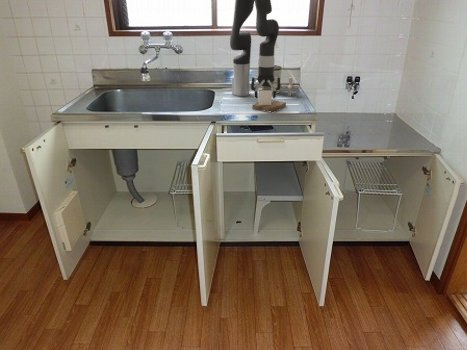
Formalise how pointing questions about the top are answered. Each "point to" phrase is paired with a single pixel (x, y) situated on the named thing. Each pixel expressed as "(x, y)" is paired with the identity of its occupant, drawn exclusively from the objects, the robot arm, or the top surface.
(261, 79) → the robot arm
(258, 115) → the top surface
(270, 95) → the cream rectangular block
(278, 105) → the board
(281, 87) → the pipe connector
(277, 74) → the coffee can
